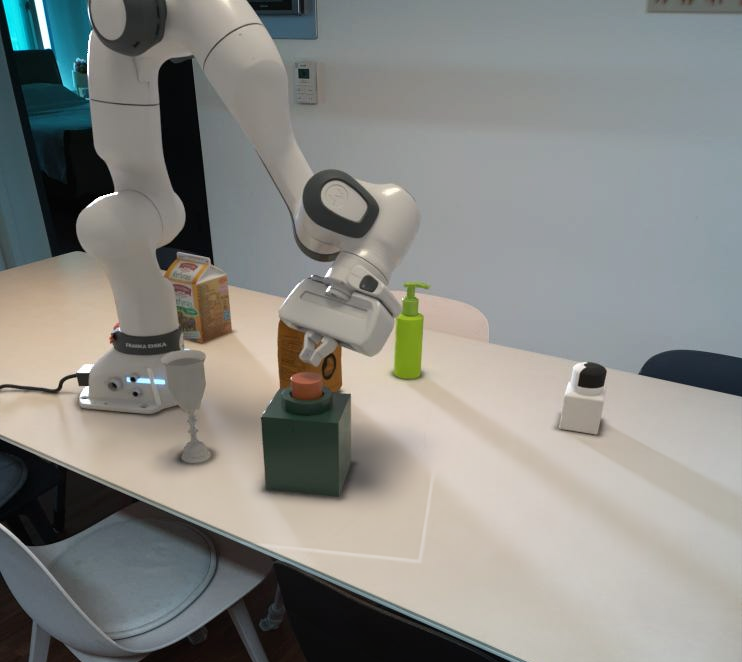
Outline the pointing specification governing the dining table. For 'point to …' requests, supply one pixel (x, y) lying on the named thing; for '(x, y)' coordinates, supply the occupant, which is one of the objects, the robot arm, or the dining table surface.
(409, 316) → the soap dispenser
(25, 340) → the dining table surface
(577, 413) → the medicine bottle
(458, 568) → the dining table surface
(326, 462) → the push button housing
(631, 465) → the dining table surface
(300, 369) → the coffee package
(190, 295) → the milk carton
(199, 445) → the chalice
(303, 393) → the red push button
